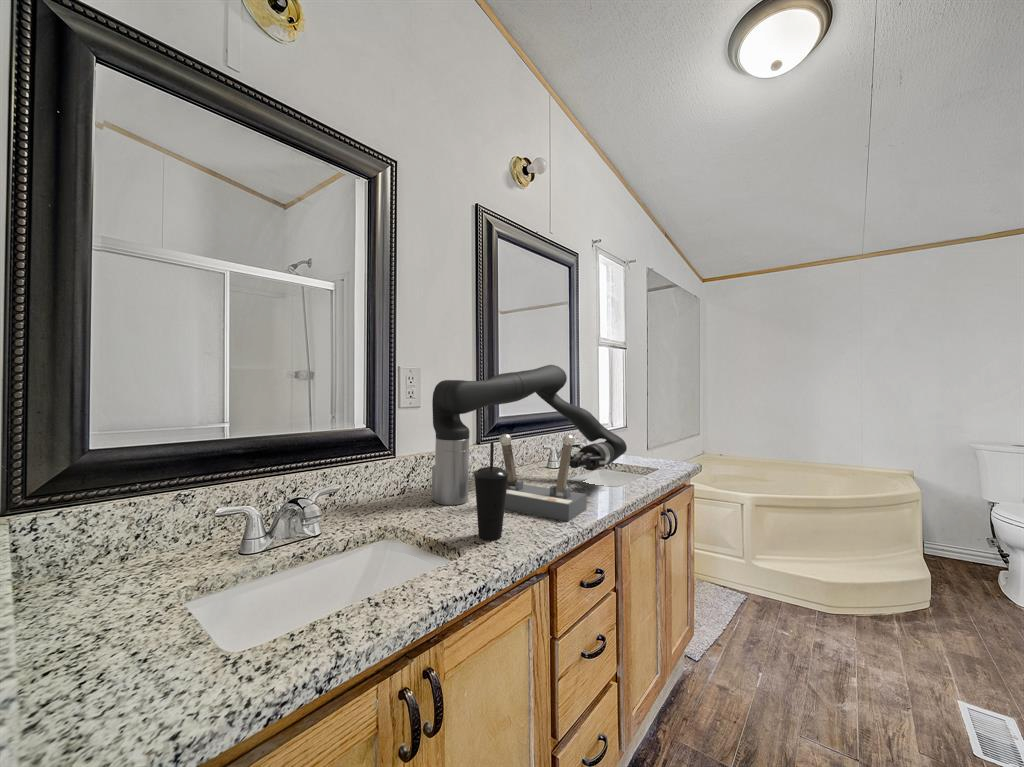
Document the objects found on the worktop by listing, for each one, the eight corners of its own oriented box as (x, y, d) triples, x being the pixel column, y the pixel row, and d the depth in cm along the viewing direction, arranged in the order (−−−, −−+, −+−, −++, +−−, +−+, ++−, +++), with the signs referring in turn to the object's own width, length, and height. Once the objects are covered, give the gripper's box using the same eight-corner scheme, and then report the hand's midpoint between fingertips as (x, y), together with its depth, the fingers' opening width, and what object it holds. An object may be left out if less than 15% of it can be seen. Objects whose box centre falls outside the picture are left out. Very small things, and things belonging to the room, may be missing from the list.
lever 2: (552, 490, 109) (561, 432, 114) (556, 492, 112) (566, 436, 117) (563, 492, 108) (572, 433, 112) (568, 494, 110) (577, 437, 115)
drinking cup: (464, 536, 91) (466, 442, 91) (490, 528, 96) (492, 439, 96) (489, 546, 86) (491, 446, 86) (515, 536, 91) (517, 443, 91)
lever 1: (505, 487, 117) (496, 436, 112) (510, 480, 119) (502, 431, 115) (515, 488, 115) (506, 437, 110) (521, 482, 118) (512, 432, 113)
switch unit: (485, 505, 114) (485, 481, 114) (508, 495, 125) (508, 474, 125) (568, 521, 102) (569, 495, 102) (586, 509, 113) (587, 485, 113)
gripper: (574, 442, 135) (551, 448, 120) (615, 445, 129) (596, 453, 114) (574, 465, 135) (550, 474, 120) (615, 470, 129) (595, 481, 114)
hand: (572, 464), depth 117 cm, fingers closed
